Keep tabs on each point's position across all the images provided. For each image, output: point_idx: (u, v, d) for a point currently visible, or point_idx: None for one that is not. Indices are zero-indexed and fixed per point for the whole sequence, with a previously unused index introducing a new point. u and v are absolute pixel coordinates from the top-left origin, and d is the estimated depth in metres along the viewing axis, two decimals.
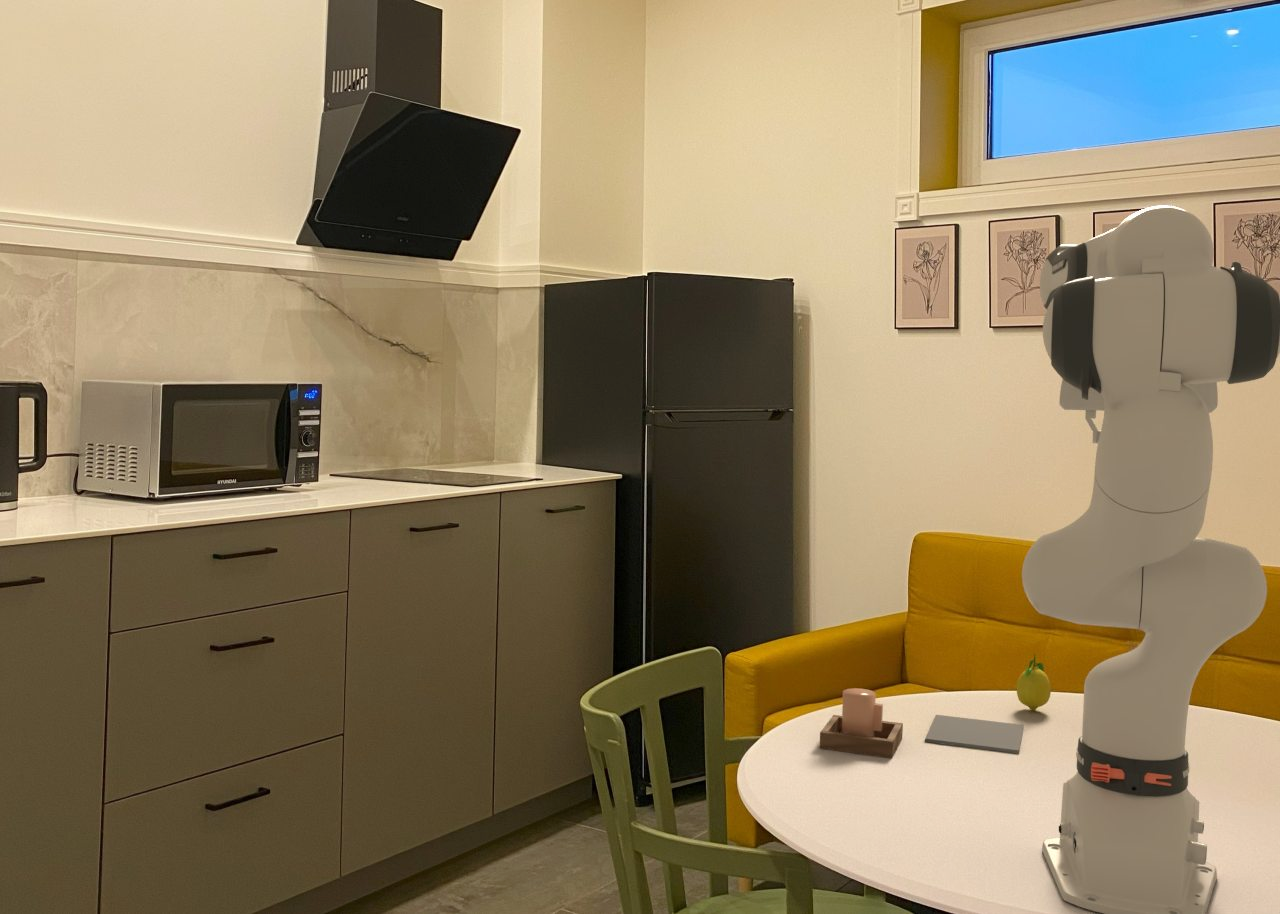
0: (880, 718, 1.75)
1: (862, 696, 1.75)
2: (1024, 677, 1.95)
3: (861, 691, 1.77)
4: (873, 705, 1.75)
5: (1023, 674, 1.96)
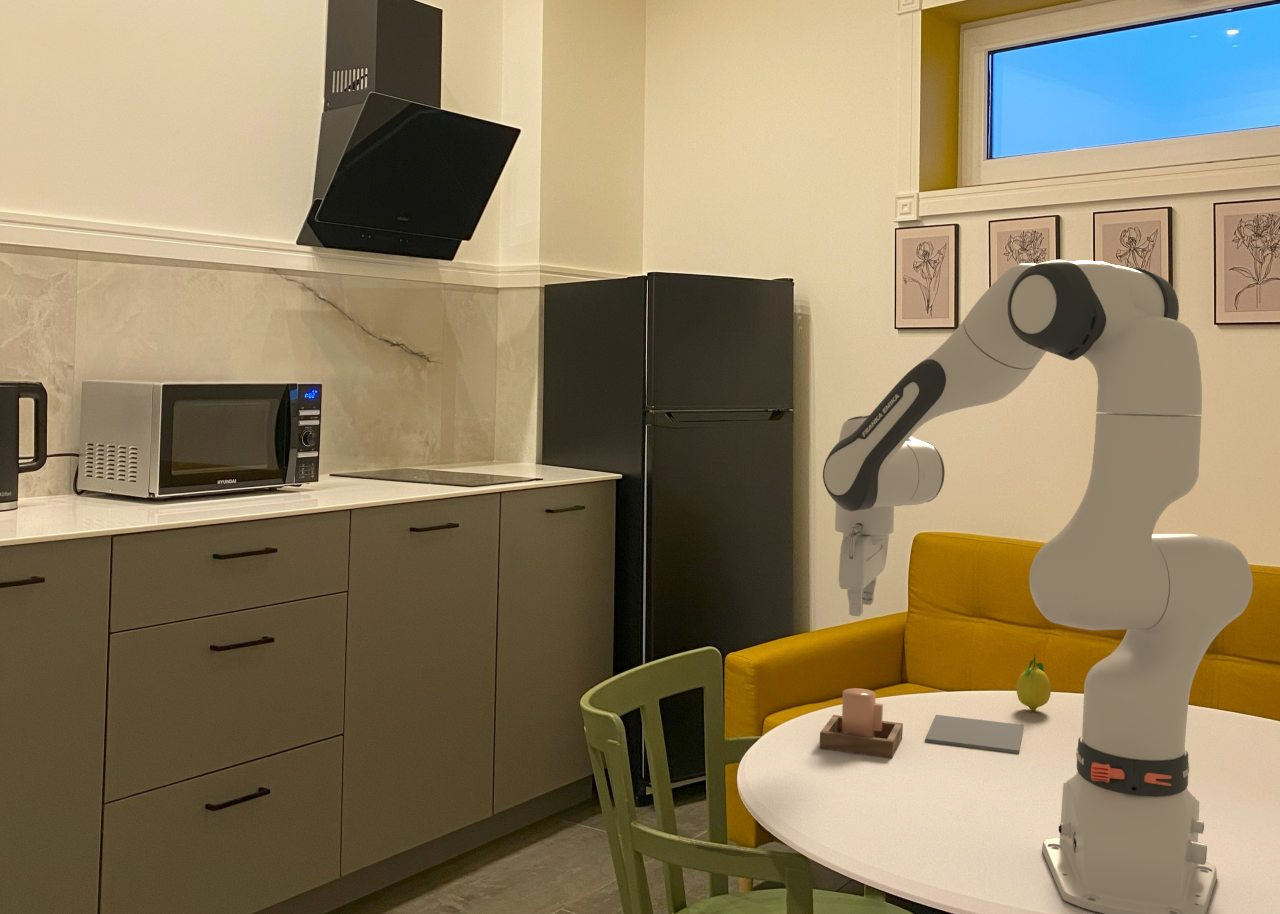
0: (880, 718, 1.75)
1: (862, 696, 1.75)
2: (1024, 677, 1.95)
3: (861, 691, 1.77)
4: (873, 705, 1.75)
5: (1023, 674, 1.96)
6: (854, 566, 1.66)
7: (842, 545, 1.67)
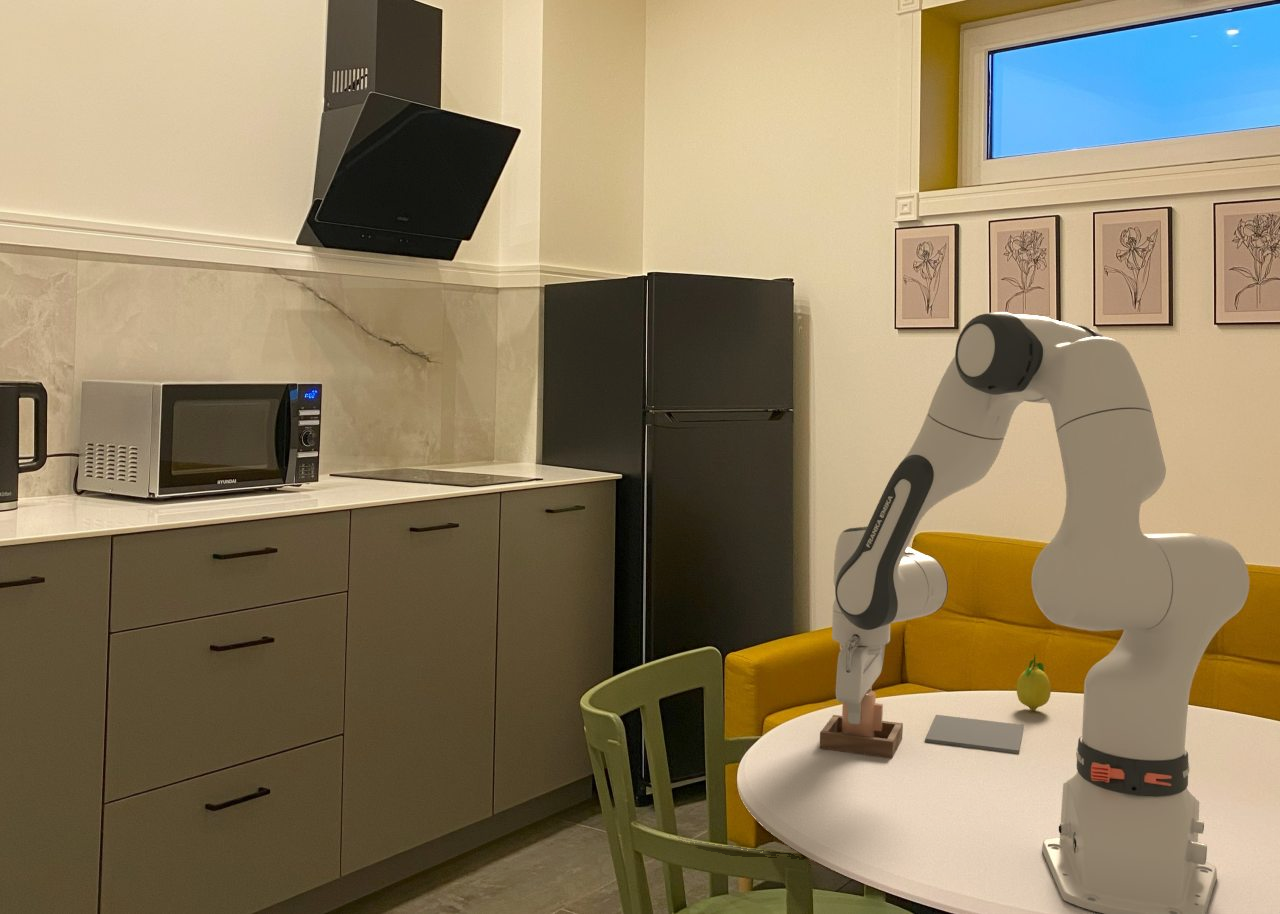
0: (880, 718, 1.75)
1: None
2: (1024, 677, 1.95)
3: None
4: (873, 705, 1.75)
5: (1023, 674, 1.96)
6: (851, 680, 1.67)
7: (839, 658, 1.68)
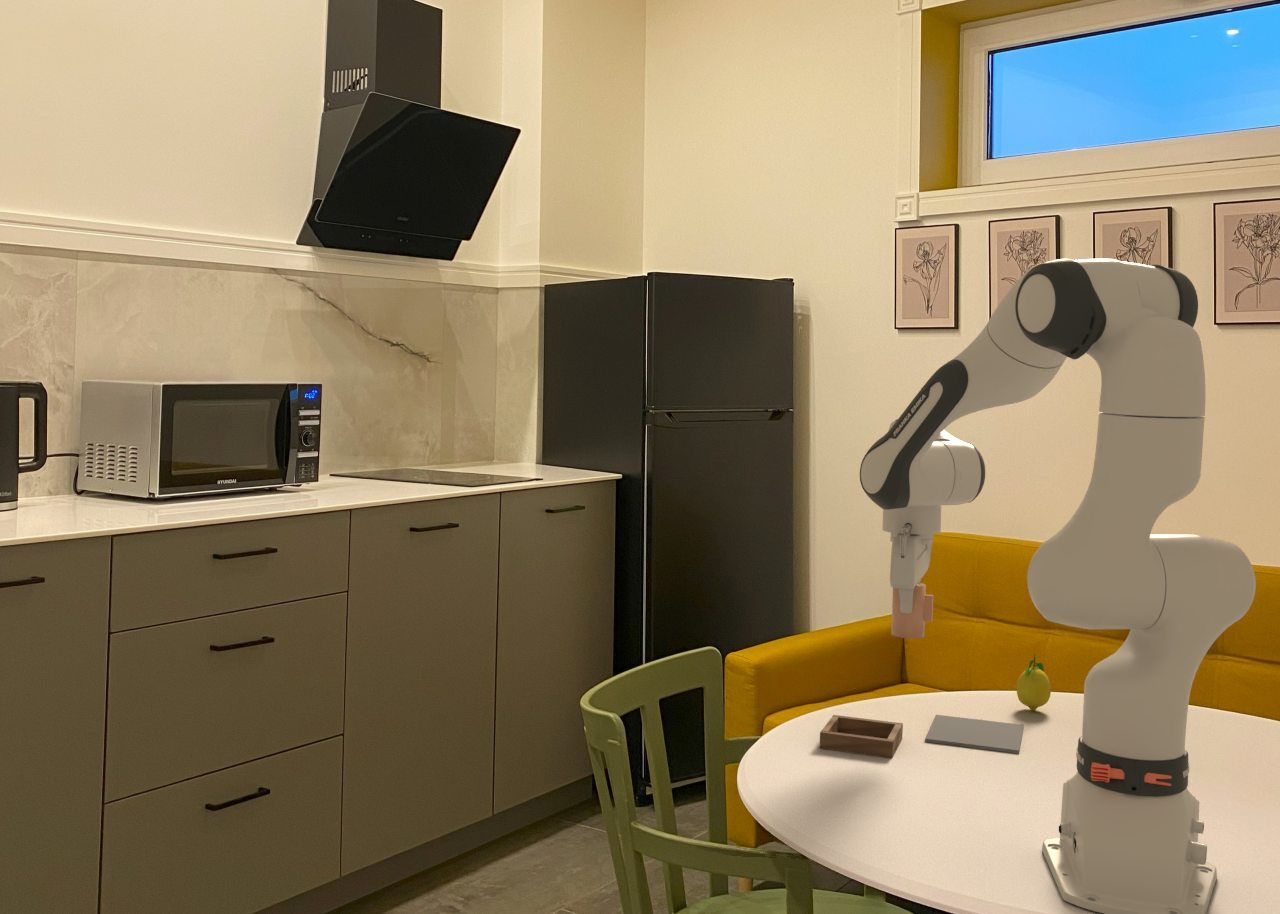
0: (931, 608, 1.76)
1: None
2: (1024, 677, 1.95)
3: None
4: (924, 595, 1.76)
5: (1023, 674, 1.96)
6: (905, 565, 1.68)
7: (893, 545, 1.69)
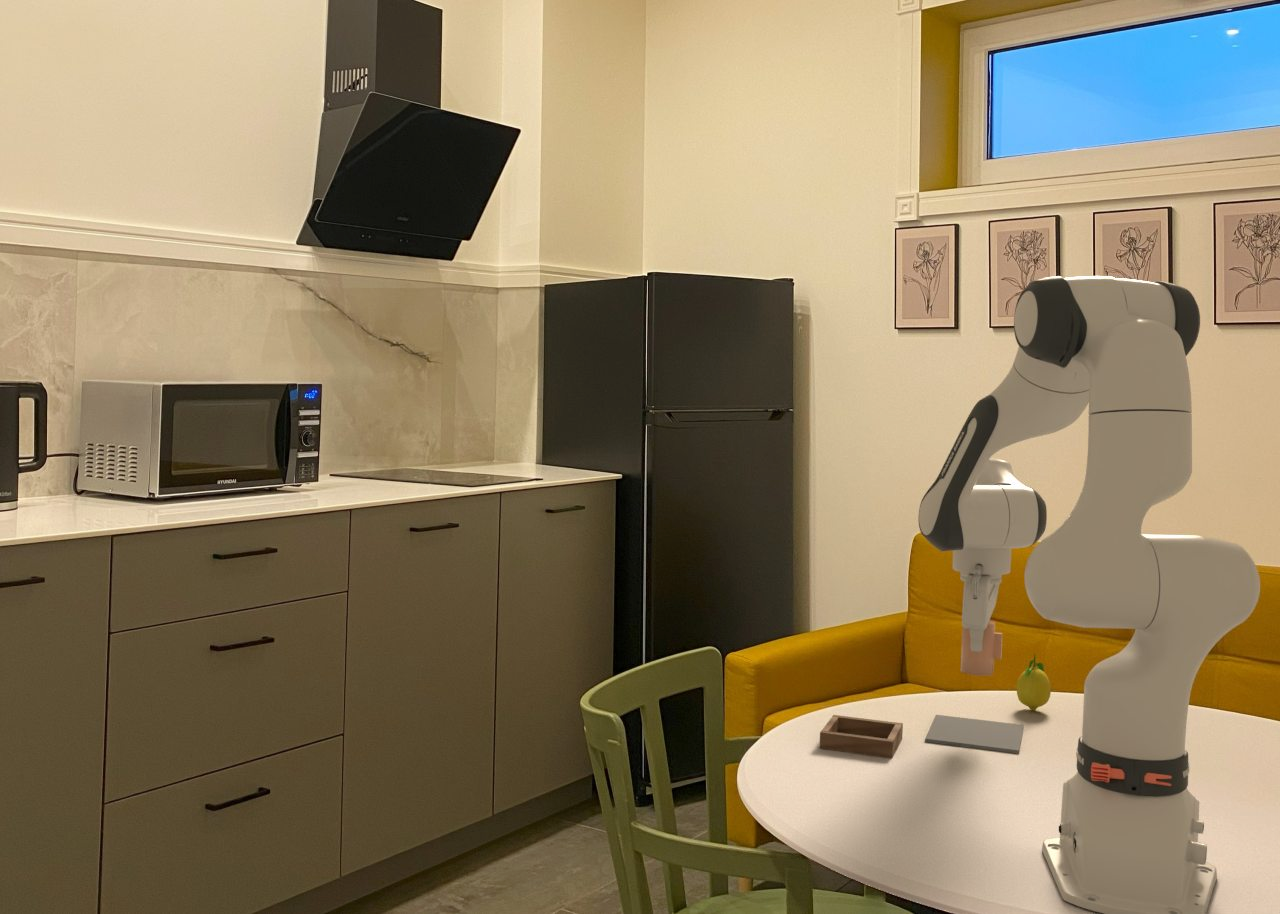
0: (1000, 646, 1.80)
1: None
2: (1024, 677, 1.95)
3: None
4: (993, 634, 1.80)
5: (1023, 674, 1.96)
6: (978, 606, 1.72)
7: (965, 586, 1.73)
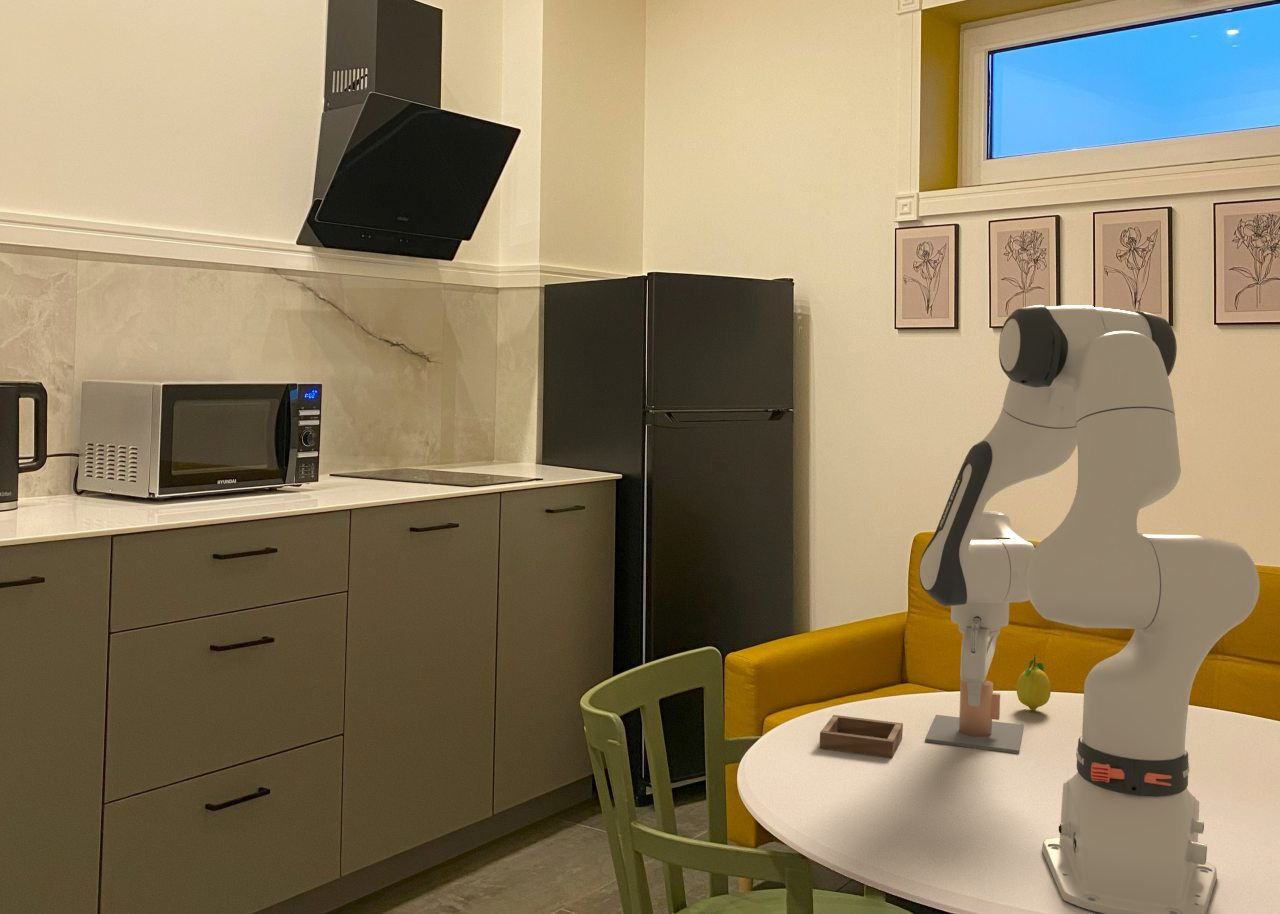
0: (998, 707, 1.80)
1: (981, 686, 1.80)
2: (1024, 677, 1.95)
3: None
4: (991, 694, 1.80)
5: (1023, 674, 1.96)
6: (976, 660, 1.72)
7: (964, 639, 1.73)
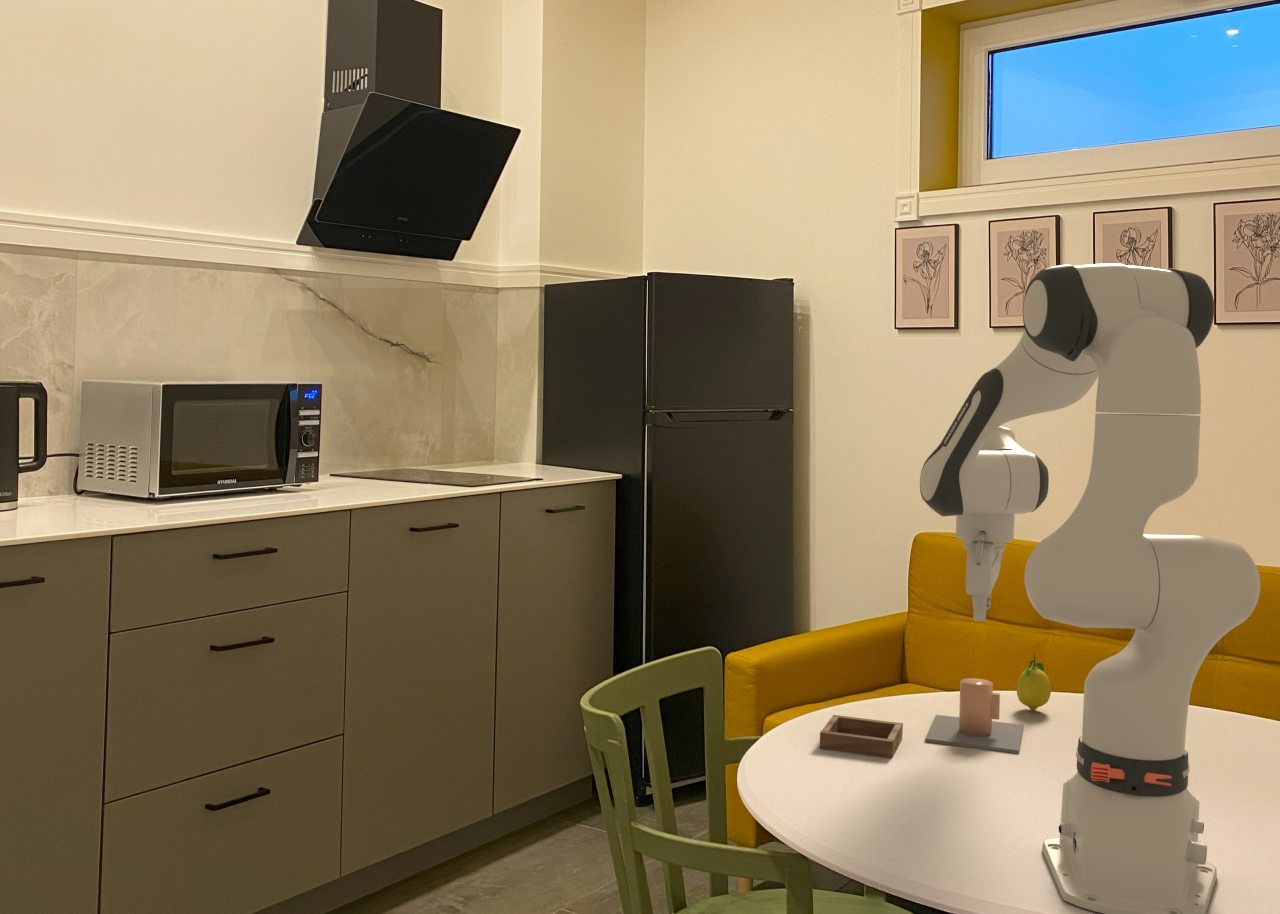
0: (998, 707, 1.80)
1: (980, 686, 1.79)
2: (1024, 677, 1.95)
3: (978, 681, 1.82)
4: (991, 694, 1.80)
5: (1023, 674, 1.96)
6: (982, 572, 1.71)
7: (969, 552, 1.72)
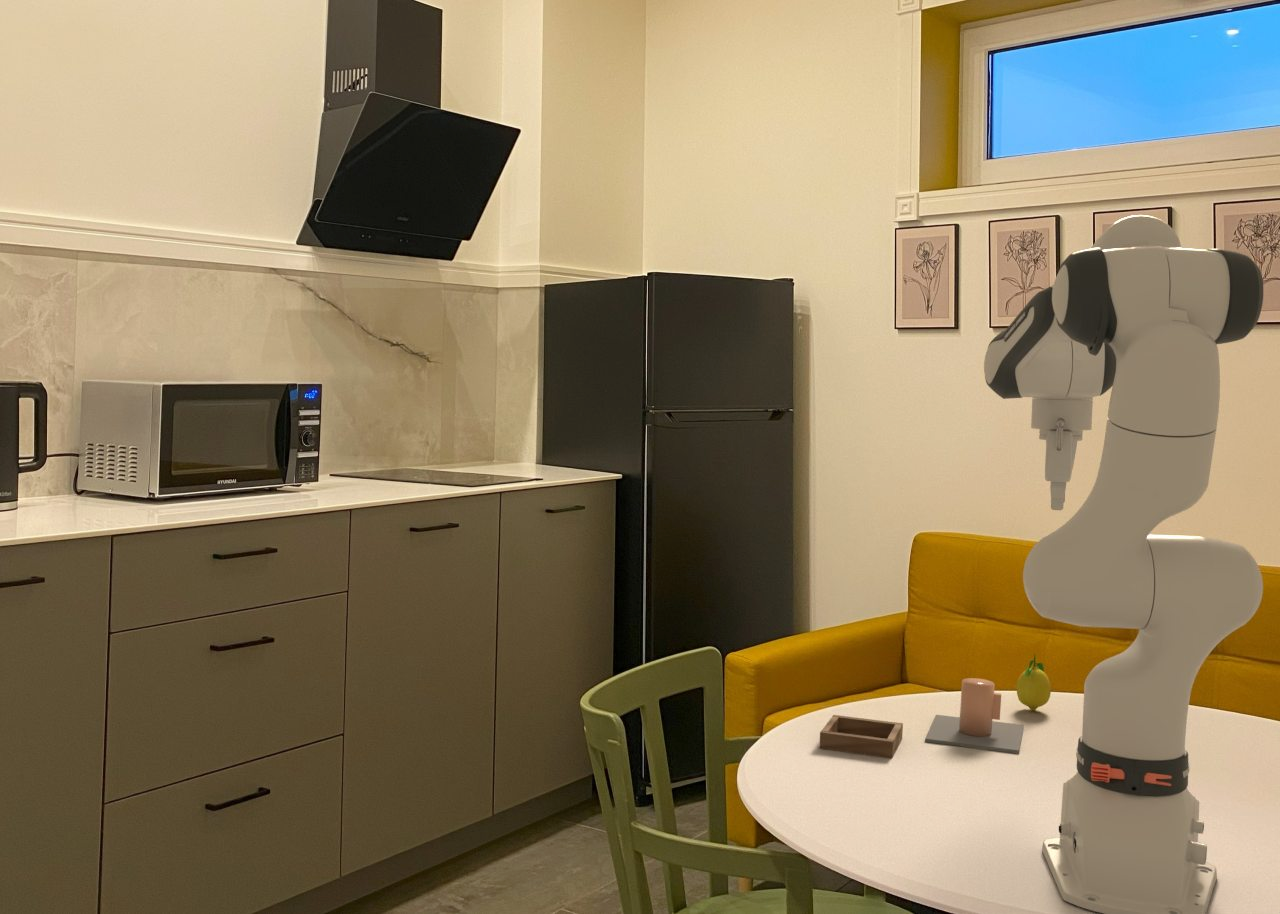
0: (999, 707, 1.80)
1: (983, 686, 1.80)
2: (1024, 677, 1.95)
3: (979, 681, 1.82)
4: (993, 694, 1.80)
5: (1023, 674, 1.96)
6: (1062, 458, 1.68)
7: (1048, 438, 1.69)
